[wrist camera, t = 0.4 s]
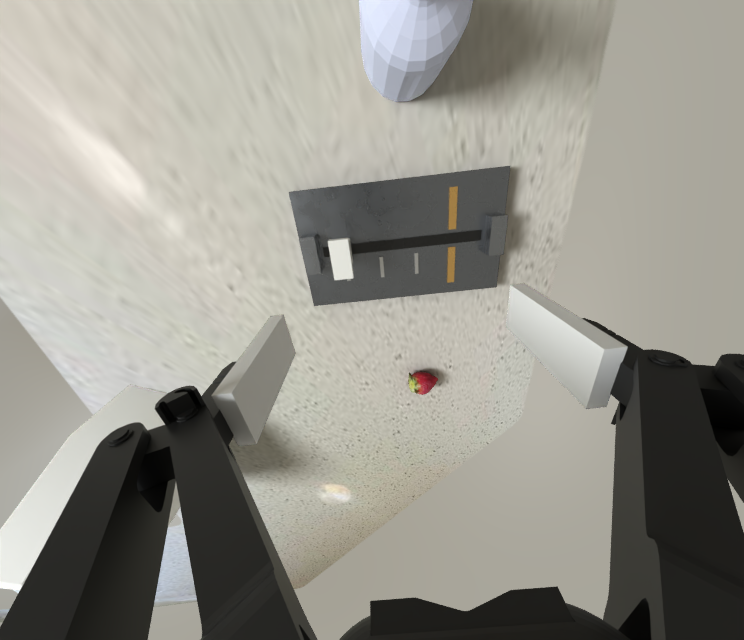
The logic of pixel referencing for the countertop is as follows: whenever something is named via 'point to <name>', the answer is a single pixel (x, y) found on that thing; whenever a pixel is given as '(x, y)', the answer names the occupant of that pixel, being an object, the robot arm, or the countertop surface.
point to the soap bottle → (409, 42)
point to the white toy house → (68, 482)
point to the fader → (341, 258)
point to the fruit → (421, 382)
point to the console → (405, 234)
